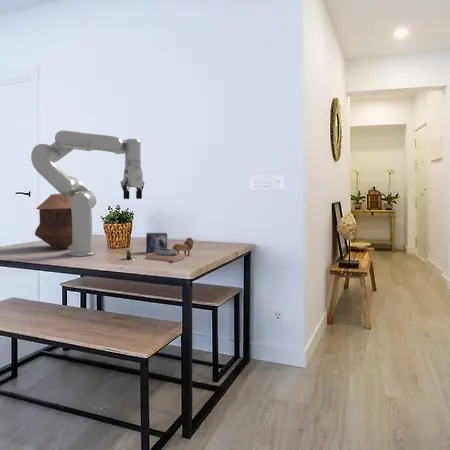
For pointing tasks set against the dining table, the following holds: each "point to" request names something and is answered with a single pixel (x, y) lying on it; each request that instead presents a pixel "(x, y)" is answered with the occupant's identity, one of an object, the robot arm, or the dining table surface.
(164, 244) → the small box
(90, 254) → the robot arm
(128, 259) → the dark knobbed lid
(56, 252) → the dining table surface
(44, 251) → the dining table surface
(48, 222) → the pottery vessel
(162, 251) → the frame
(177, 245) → the lion figurine
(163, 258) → the tray
